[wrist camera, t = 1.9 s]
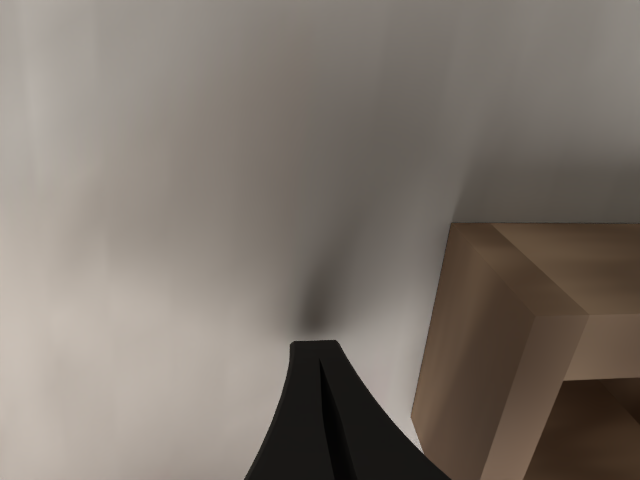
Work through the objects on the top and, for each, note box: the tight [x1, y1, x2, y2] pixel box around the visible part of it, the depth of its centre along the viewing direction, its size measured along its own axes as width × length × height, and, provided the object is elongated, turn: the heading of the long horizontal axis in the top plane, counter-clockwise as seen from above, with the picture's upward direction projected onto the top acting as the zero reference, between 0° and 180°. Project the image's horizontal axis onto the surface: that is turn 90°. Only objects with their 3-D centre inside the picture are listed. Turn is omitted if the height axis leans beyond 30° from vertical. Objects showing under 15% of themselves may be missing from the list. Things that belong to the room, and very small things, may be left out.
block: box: [411, 223, 640, 480], centre depth 13 cm, size 8×8×4 cm
